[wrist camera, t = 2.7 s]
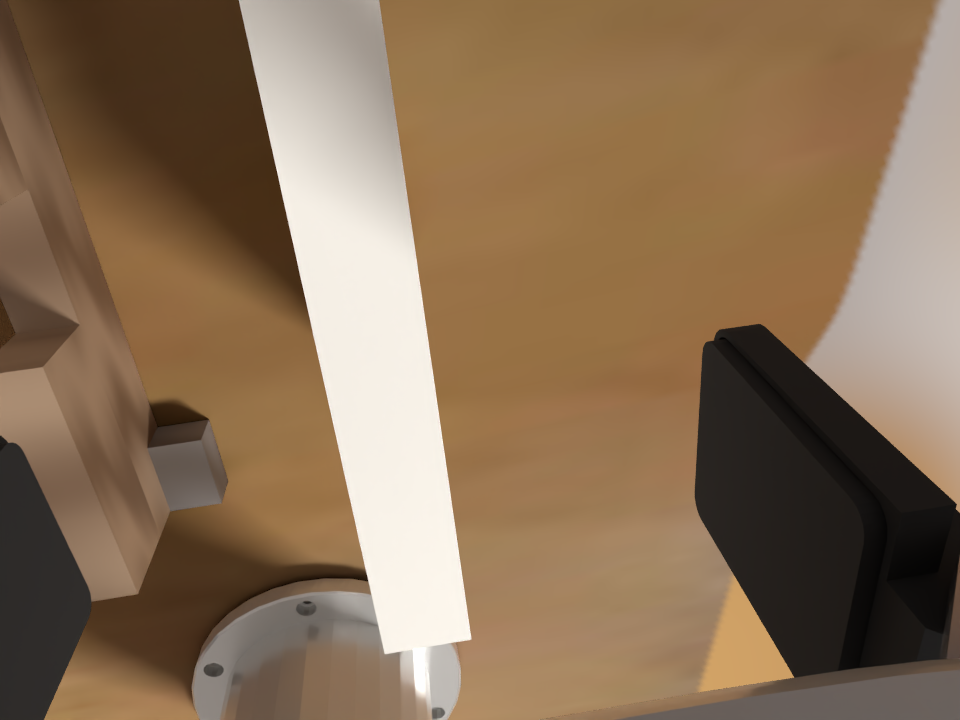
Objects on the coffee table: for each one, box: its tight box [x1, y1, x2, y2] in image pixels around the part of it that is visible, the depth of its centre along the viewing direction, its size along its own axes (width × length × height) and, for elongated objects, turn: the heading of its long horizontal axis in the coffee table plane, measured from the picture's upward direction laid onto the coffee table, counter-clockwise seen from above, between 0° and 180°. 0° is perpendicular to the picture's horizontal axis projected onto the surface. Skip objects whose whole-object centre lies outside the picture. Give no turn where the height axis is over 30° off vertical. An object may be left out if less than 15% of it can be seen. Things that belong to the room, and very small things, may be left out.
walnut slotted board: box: [0, 0, 228, 602], centre depth 23 cm, size 22×6×6 cm, turn 6°
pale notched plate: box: [239, 0, 471, 654], centre depth 20 cm, size 2×14×14 cm, turn 6°
